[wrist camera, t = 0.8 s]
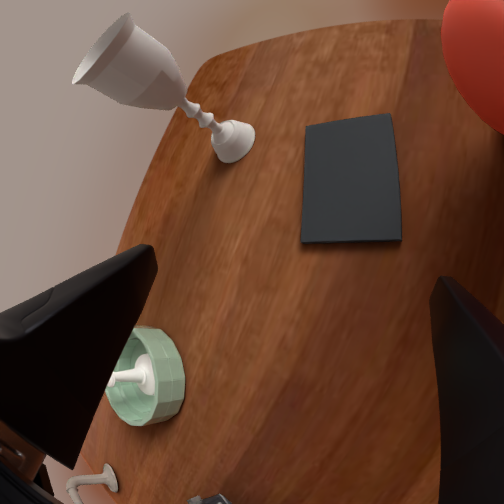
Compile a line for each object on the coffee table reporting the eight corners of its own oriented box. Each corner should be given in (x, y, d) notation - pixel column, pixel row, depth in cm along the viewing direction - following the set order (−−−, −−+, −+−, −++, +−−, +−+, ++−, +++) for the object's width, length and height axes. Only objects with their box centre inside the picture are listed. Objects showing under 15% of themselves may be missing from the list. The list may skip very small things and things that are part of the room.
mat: (402, 241, 20) (401, 239, 19) (303, 244, 24) (300, 242, 24) (391, 116, 22) (390, 112, 21) (307, 129, 26) (305, 126, 26)
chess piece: (170, 371, 29) (86, 376, 21) (156, 403, 29) (77, 413, 21) (146, 344, 32) (67, 342, 23) (134, 376, 32) (60, 378, 24)
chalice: (203, 174, 32) (62, 97, 18) (215, 124, 33) (94, 40, 19) (259, 165, 28) (104, 56, 14) (268, 110, 29) (142, -2, 15)
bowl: (185, 434, 27) (156, 442, 23) (126, 401, 33) (100, 403, 29) (192, 336, 29) (161, 336, 25) (130, 320, 35) (103, 317, 31)
